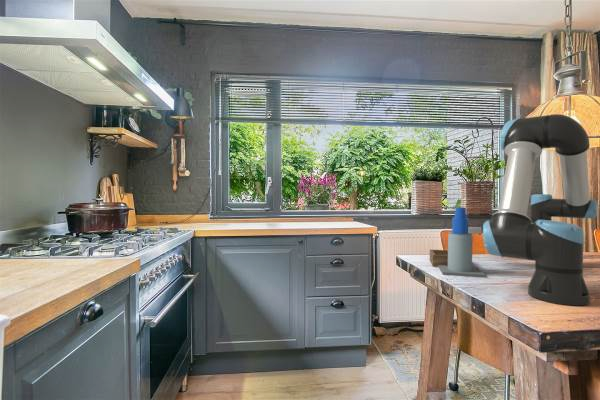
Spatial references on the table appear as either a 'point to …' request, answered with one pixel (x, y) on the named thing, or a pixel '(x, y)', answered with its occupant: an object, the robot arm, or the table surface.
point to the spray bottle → (460, 243)
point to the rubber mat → (474, 273)
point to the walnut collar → (439, 257)
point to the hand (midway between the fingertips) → (480, 232)
